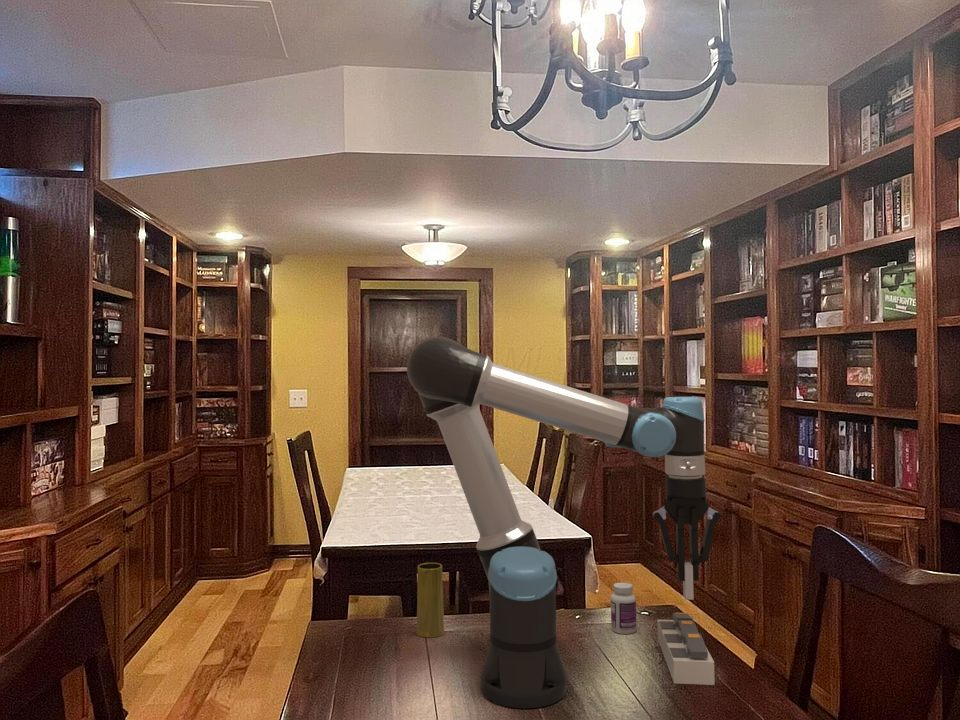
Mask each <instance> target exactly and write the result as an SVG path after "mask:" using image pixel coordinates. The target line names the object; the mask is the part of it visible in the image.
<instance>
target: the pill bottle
mask: <svg viewBox="0 0 960 720" xmlns="http://www.w3.org/2000/svg"><path fill="white" fill-rule="evenodd" d="M633 590H634V589H633V584H631V583H628V582H617V583H614V584H613V593H612V594H611V596H610V628H611V630H612V631H613V633H614V632H615V633H617V634H619V635H630V634H634V633H635V632H636V631H637V597H636V596H635V594H633V592H634V591H633Z"/></svg>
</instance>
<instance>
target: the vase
mask: <svg viewBox="0 0 960 720" xmlns="http://www.w3.org/2000/svg"><path fill="white" fill-rule="evenodd" d="M416 570H417V597H416V598H417V599H416V600H417V603H416V604H417V605H416V628H415V634H416V635H417V636H419V637H421V638H425V639H426V638H428V639H432V638H434V639H435V638H439V637H441V636H443V635H444V634H445V633H446V630H445V625H444V624H445V622H444V621H445V618H444V617H445V615H444V614H445V613H444V590H443V589H444V588H443V587H444V586H443V565H442V564H441V563H438V562H424V563H420V564H418V565H417V569H416Z"/></svg>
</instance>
